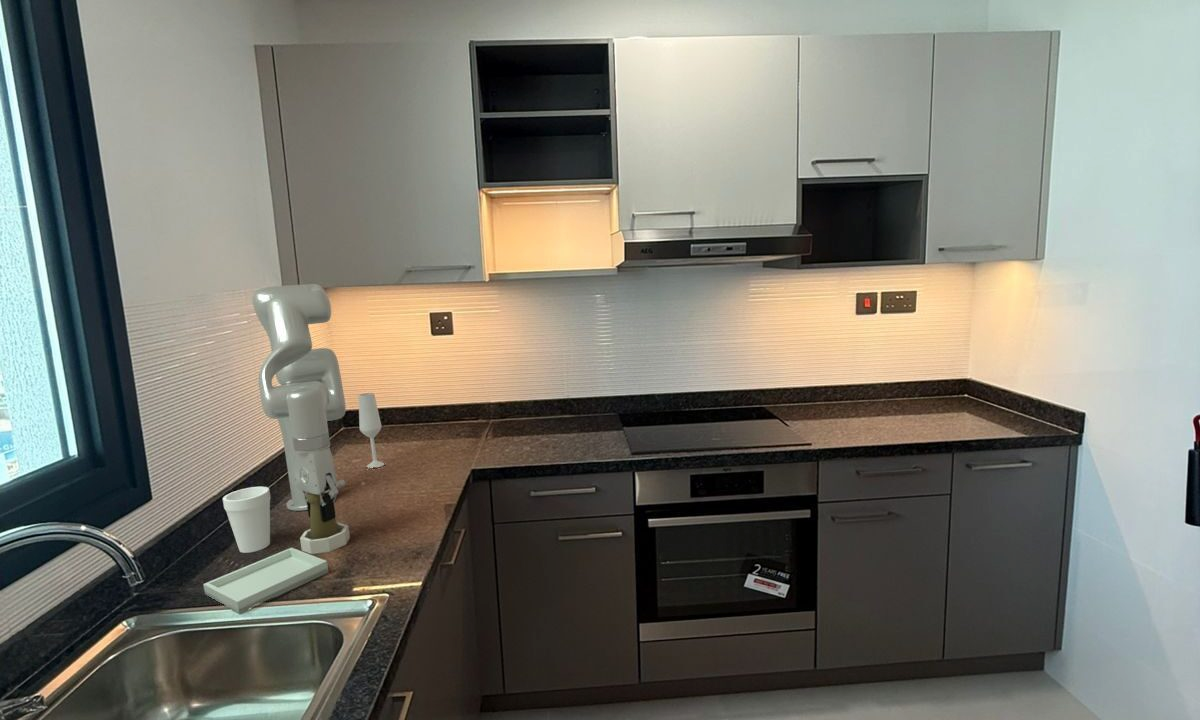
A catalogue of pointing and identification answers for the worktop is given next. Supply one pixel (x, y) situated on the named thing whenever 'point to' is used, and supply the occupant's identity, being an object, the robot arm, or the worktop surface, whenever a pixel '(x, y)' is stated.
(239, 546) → the foam cup
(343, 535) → the collar
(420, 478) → the worktop surface
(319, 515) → the cork
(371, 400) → the champagne flute
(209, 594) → the tray
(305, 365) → the robot arm
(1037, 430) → the worktop surface
